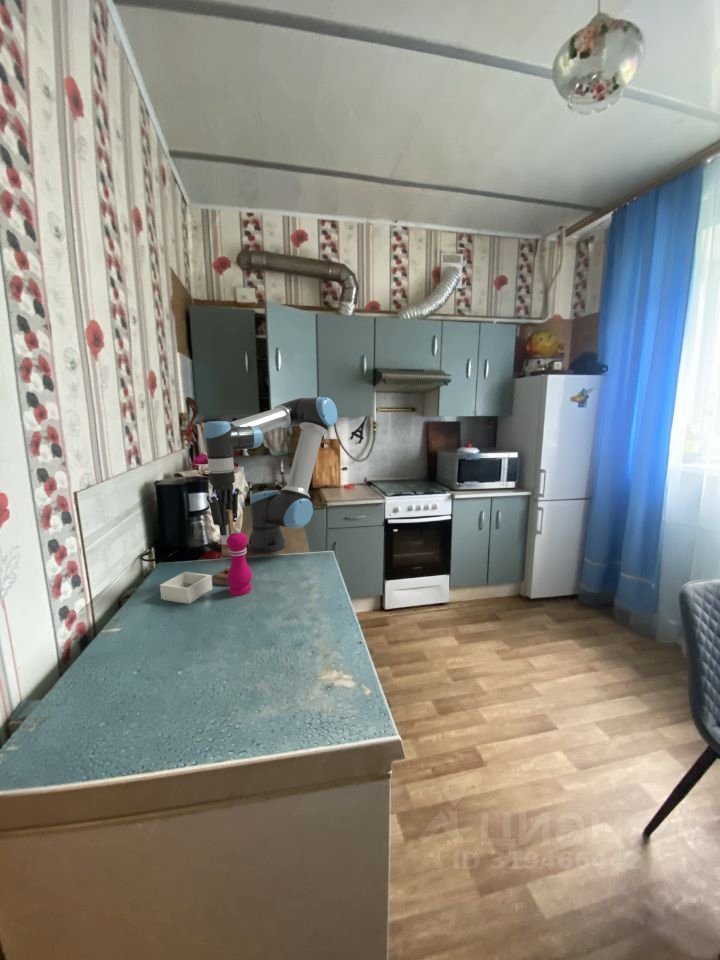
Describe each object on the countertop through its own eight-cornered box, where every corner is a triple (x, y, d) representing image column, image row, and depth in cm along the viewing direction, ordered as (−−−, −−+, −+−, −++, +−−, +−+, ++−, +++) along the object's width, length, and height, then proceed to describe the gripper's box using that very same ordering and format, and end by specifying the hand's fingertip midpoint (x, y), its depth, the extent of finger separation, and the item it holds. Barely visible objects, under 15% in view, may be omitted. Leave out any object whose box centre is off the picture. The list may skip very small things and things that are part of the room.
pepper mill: (256, 586, 117) (252, 524, 114) (247, 597, 110) (243, 532, 107) (234, 585, 118) (230, 524, 115) (223, 596, 111) (219, 531, 108)
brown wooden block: (225, 553, 123) (221, 509, 120) (235, 554, 121) (231, 509, 119) (222, 554, 121) (218, 510, 118) (232, 556, 120) (228, 511, 117)
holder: (227, 574, 126) (226, 567, 126) (244, 576, 124) (244, 569, 124) (213, 583, 120) (212, 575, 119) (231, 585, 118) (231, 578, 117)
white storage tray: (186, 584, 119) (185, 571, 118) (212, 588, 116) (211, 575, 115) (161, 599, 109) (159, 584, 109) (189, 604, 106) (187, 589, 106)
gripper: (226, 467, 124) (232, 534, 128) (195, 474, 110) (202, 549, 115) (245, 467, 122) (250, 536, 126) (216, 475, 108) (223, 552, 113)
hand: (228, 542), depth 121 cm, fingers closed on brown wooden block, 1 cm apart
